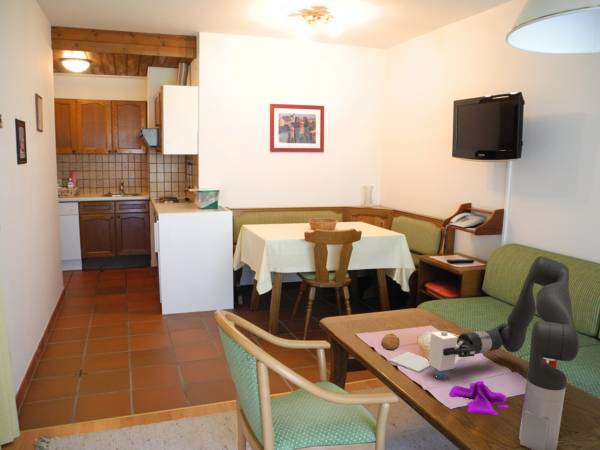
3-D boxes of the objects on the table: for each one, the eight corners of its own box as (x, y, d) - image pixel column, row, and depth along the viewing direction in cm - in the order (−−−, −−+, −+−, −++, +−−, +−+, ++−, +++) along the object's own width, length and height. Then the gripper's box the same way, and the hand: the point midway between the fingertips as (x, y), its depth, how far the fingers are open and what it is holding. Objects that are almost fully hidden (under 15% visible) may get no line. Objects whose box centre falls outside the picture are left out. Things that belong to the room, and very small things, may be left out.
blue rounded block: (442, 379, 173) (443, 371, 172) (432, 375, 175) (432, 367, 175) (448, 376, 175) (449, 367, 175) (437, 372, 178) (438, 363, 178)
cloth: (481, 422, 148) (483, 401, 147) (435, 393, 164) (437, 374, 163) (532, 406, 158) (535, 388, 157) (485, 381, 174) (487, 364, 173)
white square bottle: (454, 368, 173) (457, 334, 171) (440, 371, 170) (443, 336, 169) (441, 361, 178) (445, 328, 177) (428, 363, 176) (431, 330, 174)
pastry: (398, 352, 194) (399, 342, 194) (380, 349, 196) (381, 340, 195) (399, 343, 203) (400, 333, 203) (382, 341, 205) (382, 331, 204)
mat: (418, 372, 177) (418, 371, 176) (389, 361, 185) (389, 360, 185) (436, 363, 185) (436, 362, 185) (407, 352, 193) (407, 351, 193)
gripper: (461, 325, 186) (424, 330, 178) (491, 339, 173) (453, 345, 166) (459, 345, 187) (422, 351, 179) (489, 361, 174) (451, 367, 167)
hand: (437, 348), depth 172 cm, fingers closed on white square bottle, 6 cm apart
